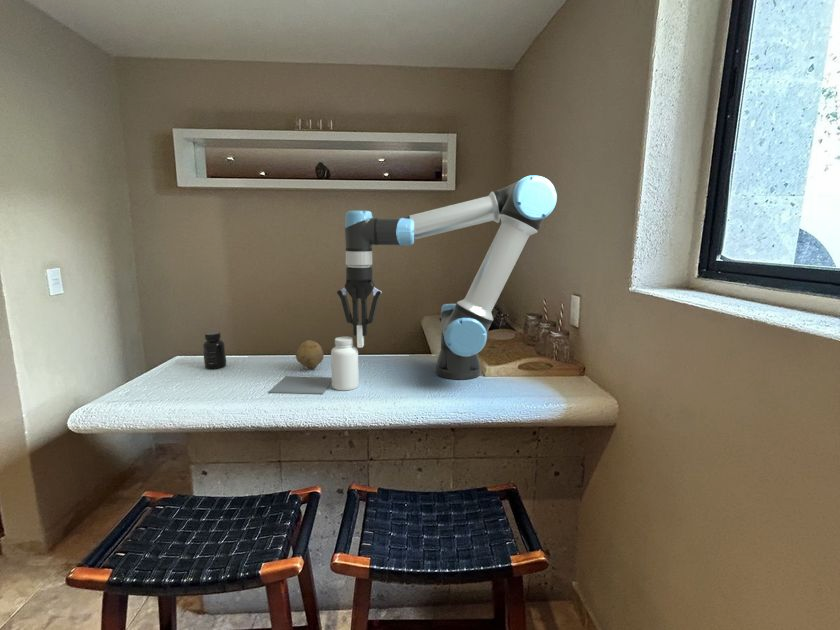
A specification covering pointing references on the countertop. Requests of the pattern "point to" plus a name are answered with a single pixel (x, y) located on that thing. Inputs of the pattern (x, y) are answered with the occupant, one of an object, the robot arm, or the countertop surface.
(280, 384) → the mat
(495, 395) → the countertop surface
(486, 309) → the robot arm
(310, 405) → the countertop surface
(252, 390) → the countertop surface
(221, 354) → the supplement bottle
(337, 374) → the pill bottle
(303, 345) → the natural sponge
